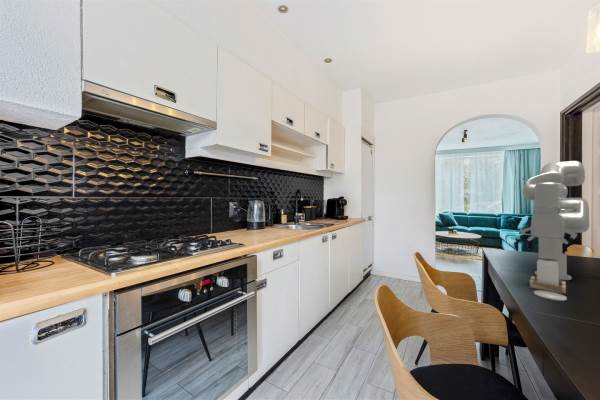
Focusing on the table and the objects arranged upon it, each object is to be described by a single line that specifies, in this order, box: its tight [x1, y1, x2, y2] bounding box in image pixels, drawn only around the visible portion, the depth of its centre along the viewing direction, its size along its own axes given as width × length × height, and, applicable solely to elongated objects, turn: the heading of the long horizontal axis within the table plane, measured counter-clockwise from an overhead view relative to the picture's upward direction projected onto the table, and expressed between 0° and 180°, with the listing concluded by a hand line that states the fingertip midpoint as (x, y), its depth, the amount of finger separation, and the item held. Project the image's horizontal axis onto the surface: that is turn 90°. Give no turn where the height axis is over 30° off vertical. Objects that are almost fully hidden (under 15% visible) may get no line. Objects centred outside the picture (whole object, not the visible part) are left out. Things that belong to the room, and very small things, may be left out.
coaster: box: [533, 289, 568, 302], centre depth 96 cm, size 9×9×1 cm
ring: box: [529, 275, 567, 295], centre depth 106 cm, size 11×11×2 cm
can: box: [536, 257, 559, 286], centre depth 106 cm, size 6×6×12 cm
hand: (547, 251), depth 106 cm, fingers open, 9 cm apart
